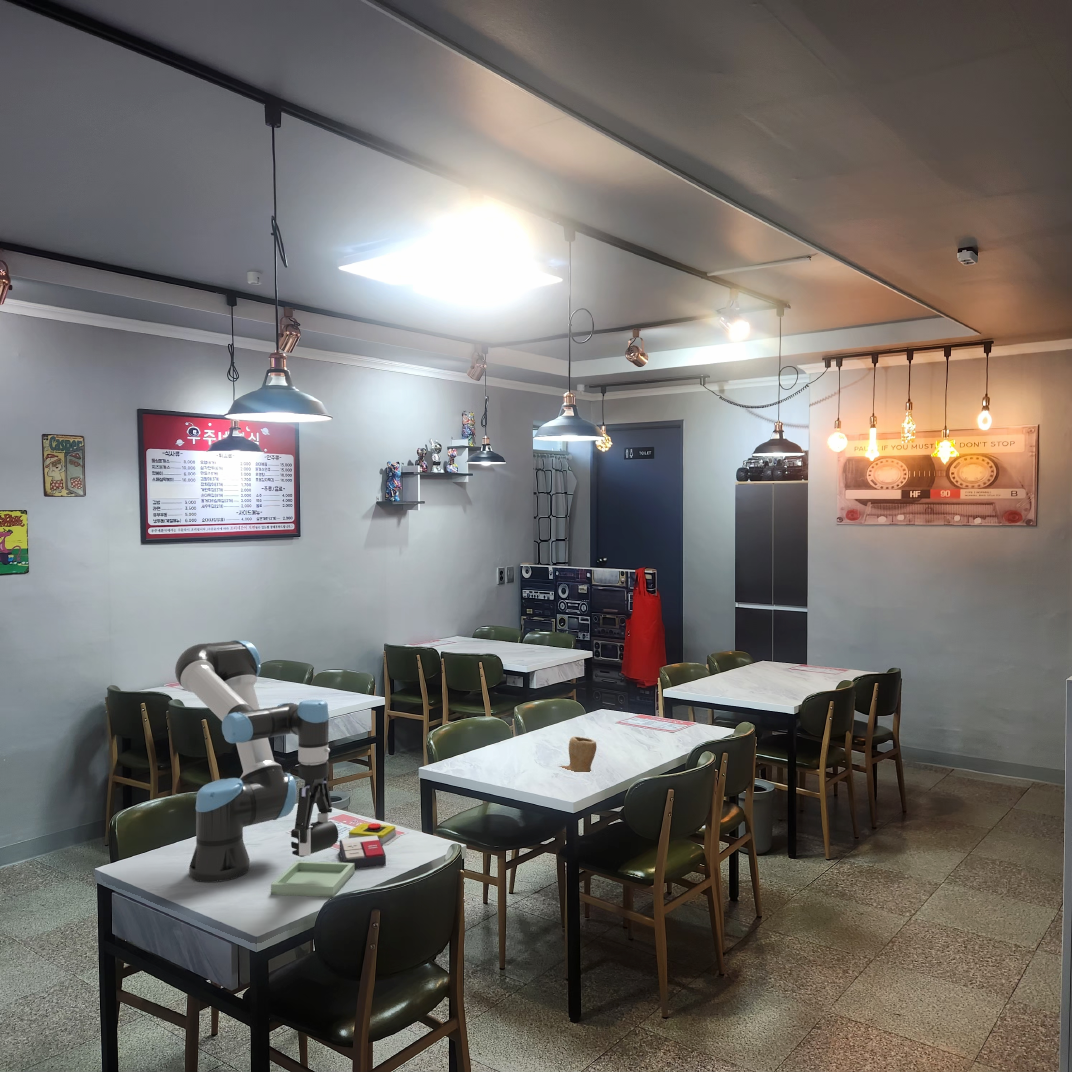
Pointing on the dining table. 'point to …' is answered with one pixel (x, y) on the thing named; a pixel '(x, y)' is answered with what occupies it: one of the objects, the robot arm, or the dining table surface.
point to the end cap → (318, 837)
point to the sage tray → (313, 879)
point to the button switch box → (363, 851)
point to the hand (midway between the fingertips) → (314, 846)
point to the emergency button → (375, 832)
